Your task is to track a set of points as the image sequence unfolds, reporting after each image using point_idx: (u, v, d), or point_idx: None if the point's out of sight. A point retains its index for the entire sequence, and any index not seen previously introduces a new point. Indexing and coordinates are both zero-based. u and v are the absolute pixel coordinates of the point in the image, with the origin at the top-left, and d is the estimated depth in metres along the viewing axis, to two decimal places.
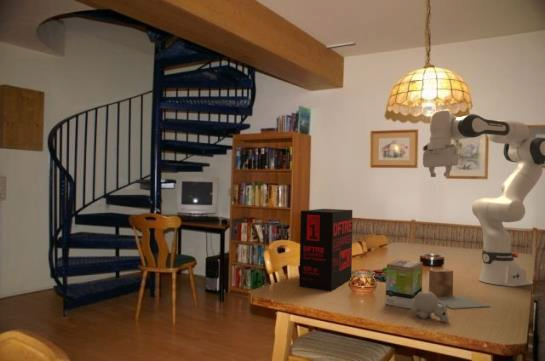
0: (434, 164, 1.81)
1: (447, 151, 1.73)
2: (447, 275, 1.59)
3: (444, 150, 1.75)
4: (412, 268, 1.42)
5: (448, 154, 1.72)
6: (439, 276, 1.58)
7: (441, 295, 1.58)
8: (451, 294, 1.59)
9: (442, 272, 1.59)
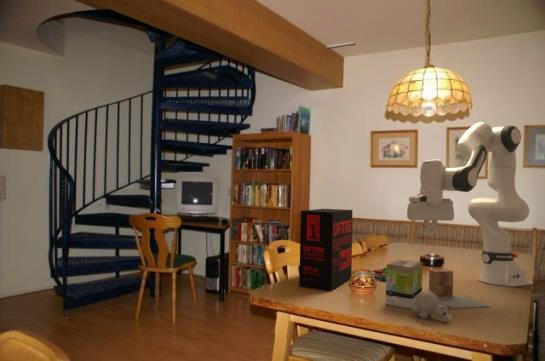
0: (431, 218, 1.66)
1: (449, 205, 1.68)
2: (447, 275, 1.59)
3: (445, 204, 1.67)
4: (412, 268, 1.42)
5: (450, 209, 1.68)
6: (439, 276, 1.58)
7: (441, 295, 1.58)
8: (451, 294, 1.59)
9: (442, 272, 1.59)
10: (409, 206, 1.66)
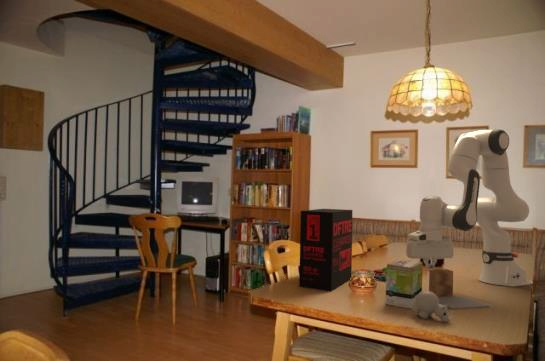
0: (430, 256, 1.65)
1: (449, 243, 1.67)
2: (447, 275, 1.59)
3: (444, 242, 1.67)
4: (412, 268, 1.42)
5: (450, 247, 1.68)
6: (439, 276, 1.58)
7: (441, 295, 1.58)
8: (451, 294, 1.59)
9: (442, 272, 1.59)
10: (408, 244, 1.66)
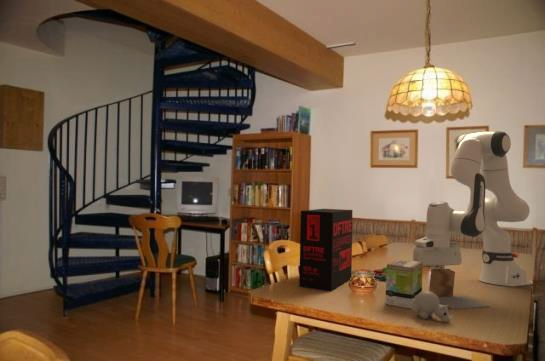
0: (438, 263, 1.61)
1: (457, 250, 1.63)
2: (449, 276, 1.58)
3: (452, 248, 1.62)
4: (412, 268, 1.42)
5: (458, 253, 1.63)
6: (440, 277, 1.57)
7: (441, 295, 1.58)
8: (451, 294, 1.59)
9: (444, 273, 1.57)
10: (415, 251, 1.61)
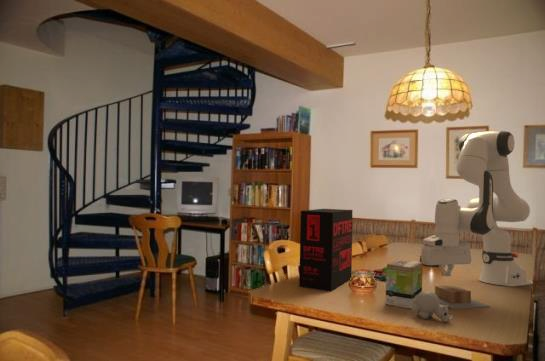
0: (447, 263, 1.55)
1: (466, 248, 1.58)
2: None
3: (461, 247, 1.57)
4: (412, 268, 1.42)
5: (467, 252, 1.58)
6: None
7: None
8: None
9: (458, 302, 1.49)
10: (423, 250, 1.56)
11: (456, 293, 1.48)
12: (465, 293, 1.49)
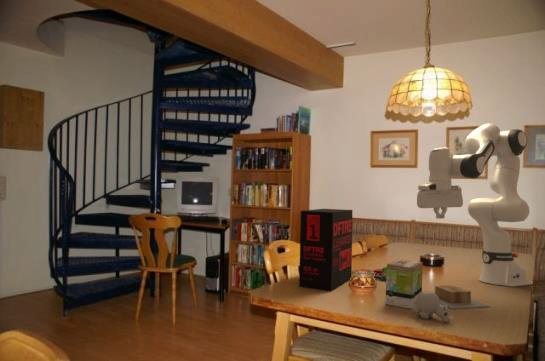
0: (441, 205, 1.69)
1: (458, 192, 1.71)
2: None
3: (453, 191, 1.70)
4: (412, 268, 1.42)
5: (459, 196, 1.71)
6: None
7: None
8: None
9: (458, 302, 1.49)
10: (419, 194, 1.69)
11: (456, 293, 1.48)
12: (465, 293, 1.49)
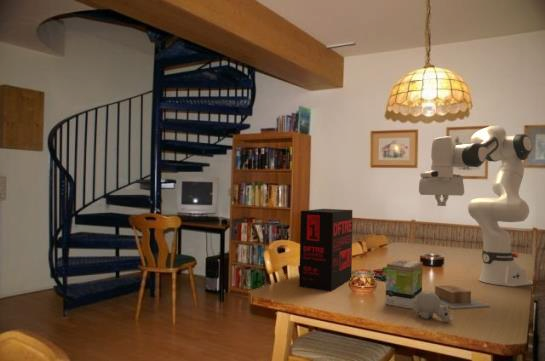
0: (442, 193, 1.72)
1: (460, 181, 1.74)
2: None
3: (455, 180, 1.73)
4: (412, 268, 1.42)
5: (461, 184, 1.74)
6: None
7: None
8: None
9: (458, 302, 1.49)
10: (421, 181, 1.72)
11: (456, 293, 1.48)
12: (465, 293, 1.49)
